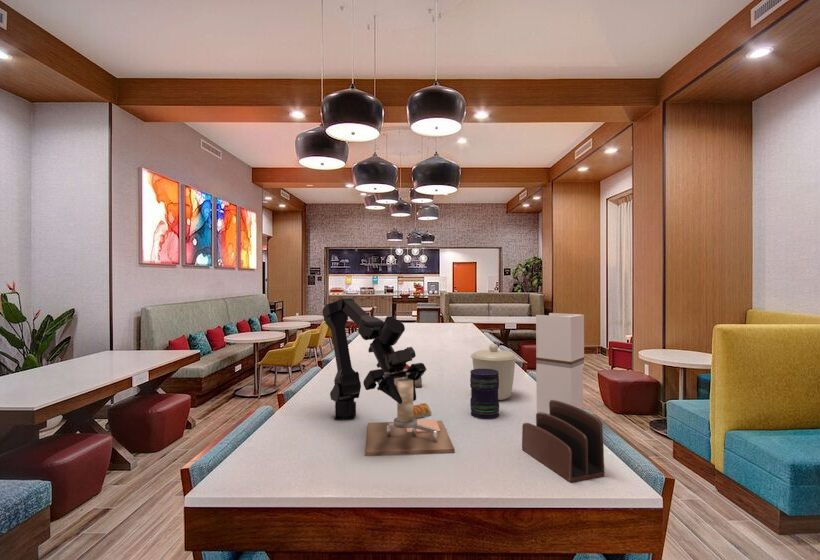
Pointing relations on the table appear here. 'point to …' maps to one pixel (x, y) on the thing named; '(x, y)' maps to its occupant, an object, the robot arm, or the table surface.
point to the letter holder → (566, 442)
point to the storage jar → (484, 393)
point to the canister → (497, 367)
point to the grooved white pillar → (559, 359)
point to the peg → (405, 405)
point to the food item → (417, 383)
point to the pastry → (421, 410)
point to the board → (405, 441)
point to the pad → (425, 423)
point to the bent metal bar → (415, 430)
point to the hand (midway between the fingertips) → (408, 401)
